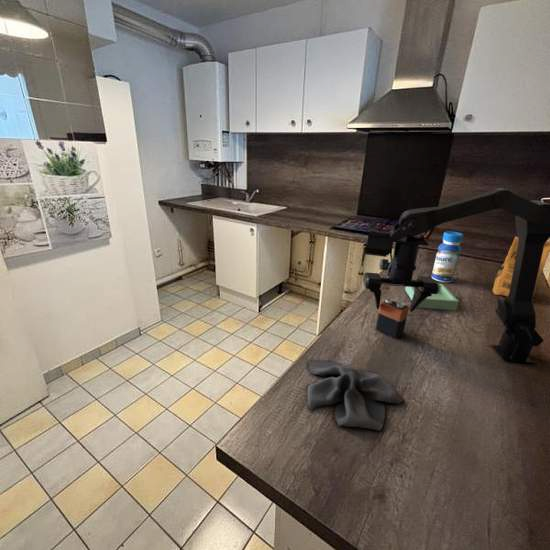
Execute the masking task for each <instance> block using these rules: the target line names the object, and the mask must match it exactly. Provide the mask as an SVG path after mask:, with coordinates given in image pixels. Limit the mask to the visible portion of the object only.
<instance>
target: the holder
mask: <svg viewBox="0 0 550 550" xmlns="http://www.w3.org/2000/svg"><path fill="white" fill-rule="evenodd" d="M437 284H438V285H439V290H438V293H437V294H432V296H428V297H427V298H426V299H424V300H423V301H422V302H421V303H420V304H419V305H418V306H417V307H416V308H420V309H431V310H442V311H443V310H445V311H457V308H458V306H459V302H460V301H459V300H458V299H457V298H456V296H454V294H453V293H452V292H451V291H450V290H449V289H448V288H447V287H446V286H445V285H444V284H443V283H437ZM404 291H405V292H406V294H407V295H408V297H409V298H410V301H412V298H413V295H414V287H407V286H405V290H404Z"/></svg>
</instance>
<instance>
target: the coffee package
mask: <svg viewBox="0 0 550 550" xmlns="http://www.w3.org/2000/svg"><path fill="white" fill-rule="evenodd" d="M518 243H519V239H518V236H515V237H514V239H513V242H512V243H511V246H510V248H509V250H508V252H507V255H506V257H505V259H504V262H503V263H502V265H501V266H500V268H499V270H498V271H497V274H496V276H495V279H494V283H493V288H492V289H491V290H492V293H493V295H497V296H504V297H507V296H508V295H509V292H510V286H511V281H512V276H513V270H514V265H515V259H516V254H517V248H518ZM549 253H550V241H546V243H545V245H544V249H543V254H542V258H541V263H540V267H539V272H538V277H537V281H536V286H535V291H534V295H533V297H534V296H535V294H536V291H537V288H538V283H539V280H540V277H541V275H542V273H543V270H544V268H545V266H546V263H547V259H548V256H549Z"/></svg>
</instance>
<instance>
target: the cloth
mask: <svg viewBox="0 0 550 550" xmlns="http://www.w3.org/2000/svg"><path fill="white" fill-rule="evenodd" d="M308 368H309V371H310V374H312V375H315V376H321V377H326V376H329V377H327V378H325V379H323V380H320V381H317V382H313V383H311V384H309V385H308V387H307V405H308V409H309V410H310V411H311V410H314V409H315V408H317V407H320V406H332V405H335V404H336V403H337V406H336V408H335V410H334V418H335V421H336V423H337V425H338V426H340V427H353V428H354V427H355V428H361V429H370V430H375V431H379V432H380V431H382V429H383V427H384V423H385V419H386V418H385V417H386V406H385V403H390V404H400V403H402V402H403V398H402V396H401V395H400V394H399V392H398V390H397V389H395V387H394V386H393V385H392V384H391V383H390V381H388V380H387V379H386V378H385V377H384V376H383V375H381V374H379V373H374V372H370V371H359V370H358V369H356V368H353V367H351V366H347V365H344V364H341V363H339V362H332V361H317V360H316V361H314V360H313V361H312V360H311V361H308Z"/></svg>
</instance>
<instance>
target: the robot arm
mask: <svg viewBox="0 0 550 550" xmlns="http://www.w3.org/2000/svg"><path fill="white" fill-rule="evenodd" d="M498 209H501V210H504V211H505V212H508V213H510V214H512V215H514V216H515V218H514V222H515V230H516V235H517V237H518V239H519V243H518V248H517V254H516V259H515V265H514V270H513V276H512V281H511V286H510V292H509V295H508V296H505V298H504V299H502V298H498V299H497V308H496V310H495V314H497V317H498V318H499V320H500V322H501V323H502V325H503V327H504V328H505V329H504V332H503V333H502V336H501V338H500V340H499V343H498V344H492V348H493V349H494V350H495V352H496V353H497V354H498V355H499V356H500V357H501V359H502V360H503V361H504V362H509V363H510V362H511V363H520V364H530V365H531V364H533V363H534V361H533V360H532V359H531V358H530V357H529V356H530V354H531V352H532V349H533V347H539V346H540V345H541V344H542V343H543V342H544V339H543V337H542V336H541V335H540V334H539V333H538V332H537V331H536V327H537V317H536V316H537V315H536V310H535V307H534V301H533V299H534V296H535V294H534V291H535V286H536V281H537V277H538V272H539V267H540V263H541V258H542V254H543V249H544V245H545V243H546V242H548V241H549V239H550V203H548V202H544V201H541V200H538V199H537V200H536V199H535V200H534V199H533V200H532V199H531V200H529V199H526V198H524V197H522V196H520V195H517V194H515V193H513V192H512V191H510V190H509V189H506V188H501V187H497V188H494V189H492V190H489V191H487V192H486V191H485V192H483V193H480V194H477V195H472V196H470V197H466V198H463V199H460V200H459V199H458V200H456V201H452V202H449V203H445V204H442V205H439V206H431V207H420V208H413V209H408V210H405V211H404V212H402V213H401V215H400V216H399V219H398V222H396V224H395V225H394V226H392V228H390V230H389V231H383V230H376V229H369V230H368V235H367V239H366V243H365V250H364V255H367V256H373V257H374V256H375V257H383V258H381V259H380V261H379V270H381V271H385V274H386V276H387V277H381V276H380V273H379V272H378V273H377V272H365V273H364V274H363V277H362V283H363V285H364V288H365V289H366V290H369V292H370V293H373V296H374V297H373V298H374V301H375V308H376V310H379V308H380V303H381V298H382V289H381V288H382V286H394V287H406V286H407V287H414V295H413V298H412V300H410V301H411V302H410V306H409V312H410V313H413V312H414V311H415V310H416V308H418V307H417V306H418V305H419V304H420V303H421V302H422V301H423V300H424V299H426V298H427V297H428V296H432V294H437V293H438V290H439V285H438V284H439V283H438V281H436V280H434V279H433V278H432V277H431V276H423V275H419V276H417V278H416V279H413V276H414V271H416V270H417V265H416V263H417V258H418V255H419V254H418V253H419V250H420V249H419V248H420V246H429V245H430V244H429V242H428V239H427V238H425V235H424V233H426V232H428V231H431V230H433V229H434V228H436V227H438V226H440V225H442V224H444V223H449V222H453V221H457V220H459V219H463V218H467V217H470V216H474V215H478V214H482V213H486V212H489V211H493V210H498ZM394 243H395V244H394ZM393 246H394V247H393ZM393 248H394V250H393ZM392 252H393V254H392ZM390 254H392V258H391V259H390V260H389V259H388V258H387V257H388V256H389V255H390ZM386 258H387V259H386ZM389 261H390V262H389ZM535 292H536V291H535ZM533 295H534V296H533Z"/></svg>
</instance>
